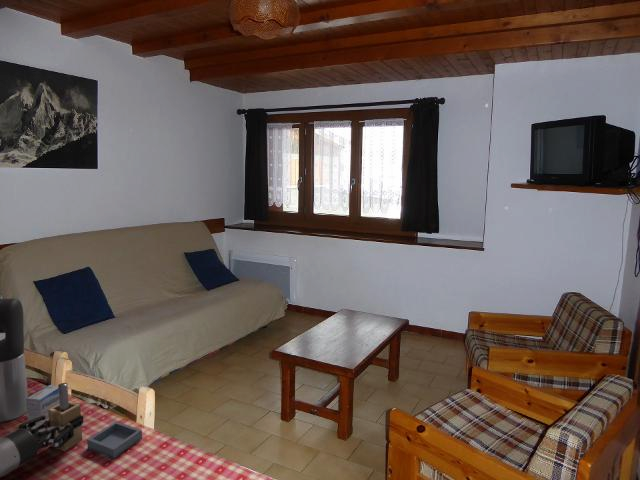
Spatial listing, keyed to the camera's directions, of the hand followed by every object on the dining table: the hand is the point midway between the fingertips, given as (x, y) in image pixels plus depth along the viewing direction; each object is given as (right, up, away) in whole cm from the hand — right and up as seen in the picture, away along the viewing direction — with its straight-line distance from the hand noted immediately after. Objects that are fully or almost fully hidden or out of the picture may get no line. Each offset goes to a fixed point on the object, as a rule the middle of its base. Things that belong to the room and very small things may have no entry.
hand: (74, 416), depth 116 cm
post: (-1, -6, -1) cm, 7 cm away
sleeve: (-1, -6, -1) cm, 7 cm away
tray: (+11, -7, -1) cm, 13 cm away
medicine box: (-12, -5, +8) cm, 15 cm away
